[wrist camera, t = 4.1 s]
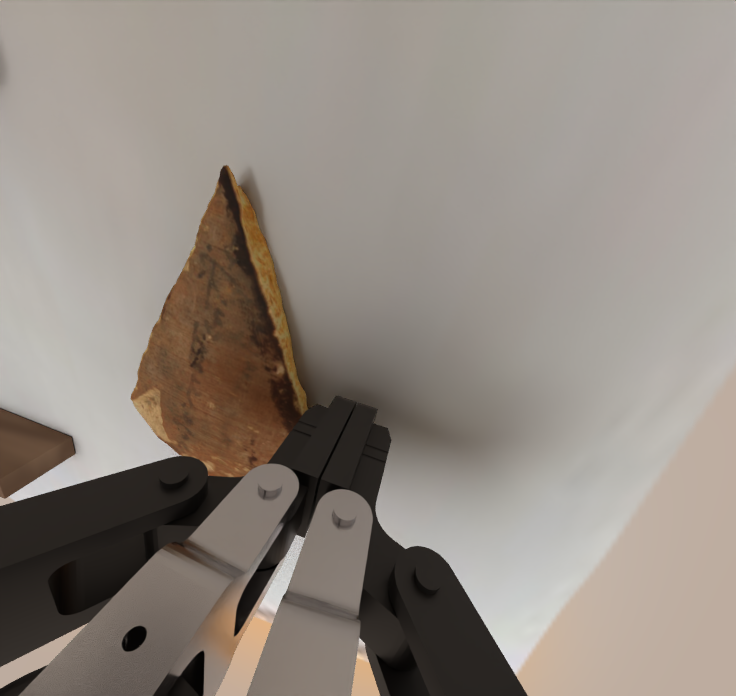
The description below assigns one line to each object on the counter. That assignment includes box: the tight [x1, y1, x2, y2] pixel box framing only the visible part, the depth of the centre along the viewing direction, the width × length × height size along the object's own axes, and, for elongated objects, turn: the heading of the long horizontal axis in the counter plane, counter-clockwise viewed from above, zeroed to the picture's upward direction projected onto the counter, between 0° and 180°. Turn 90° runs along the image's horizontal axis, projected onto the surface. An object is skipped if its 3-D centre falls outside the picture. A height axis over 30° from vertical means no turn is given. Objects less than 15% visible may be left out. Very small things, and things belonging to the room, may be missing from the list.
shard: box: [131, 165, 308, 477], centre depth 12 cm, size 11×8×2 cm
